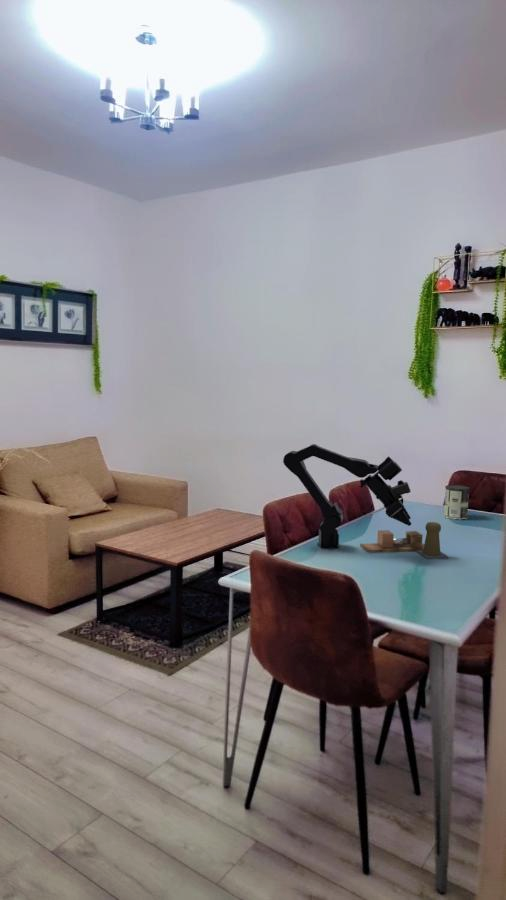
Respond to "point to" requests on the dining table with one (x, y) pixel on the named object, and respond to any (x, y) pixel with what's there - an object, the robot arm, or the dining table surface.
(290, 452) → the robot arm
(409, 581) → the dining table surface
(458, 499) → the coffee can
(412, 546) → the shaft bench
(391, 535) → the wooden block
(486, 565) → the dining table surface
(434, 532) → the cork
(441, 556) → the seat pad
